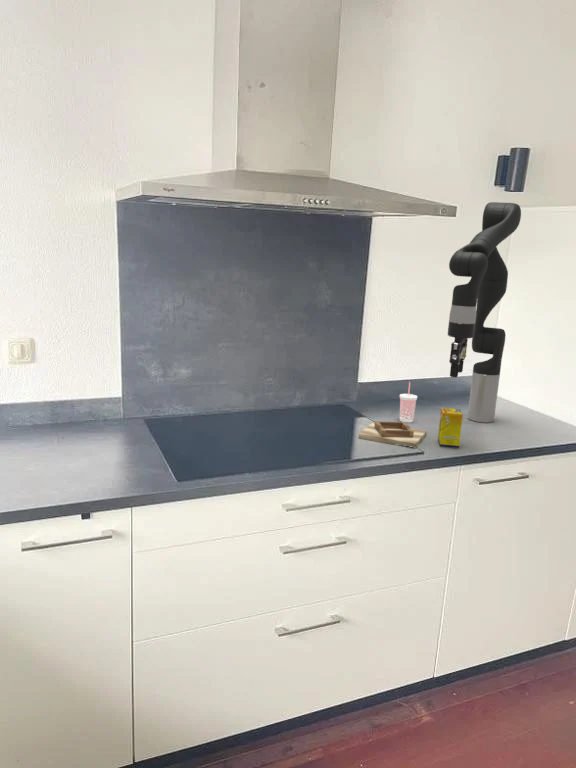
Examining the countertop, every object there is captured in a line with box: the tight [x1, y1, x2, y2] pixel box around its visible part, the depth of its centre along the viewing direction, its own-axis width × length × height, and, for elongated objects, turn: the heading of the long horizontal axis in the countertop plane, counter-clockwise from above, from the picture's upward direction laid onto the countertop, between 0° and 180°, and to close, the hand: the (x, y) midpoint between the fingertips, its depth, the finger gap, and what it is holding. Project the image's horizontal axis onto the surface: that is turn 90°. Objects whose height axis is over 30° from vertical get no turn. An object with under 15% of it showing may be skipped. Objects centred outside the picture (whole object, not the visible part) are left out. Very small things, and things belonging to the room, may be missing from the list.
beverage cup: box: [399, 381, 418, 423], centre depth 206 cm, size 6×6×14 cm
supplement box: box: [437, 407, 464, 449], centre depth 182 cm, size 6×6×11 cm
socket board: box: [358, 421, 427, 448], centre depth 188 cm, size 15×18×4 cm
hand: (456, 374), depth 178 cm, fingers open, 8 cm apart
